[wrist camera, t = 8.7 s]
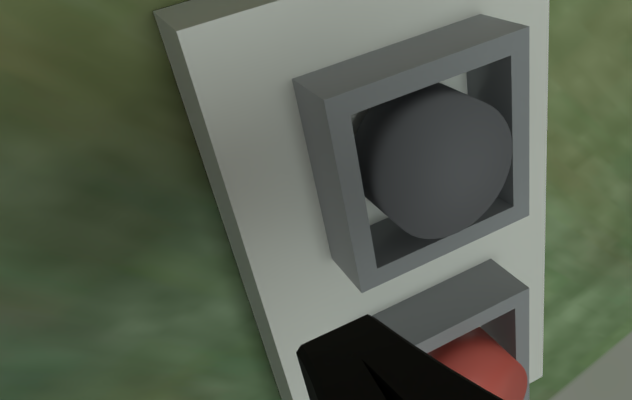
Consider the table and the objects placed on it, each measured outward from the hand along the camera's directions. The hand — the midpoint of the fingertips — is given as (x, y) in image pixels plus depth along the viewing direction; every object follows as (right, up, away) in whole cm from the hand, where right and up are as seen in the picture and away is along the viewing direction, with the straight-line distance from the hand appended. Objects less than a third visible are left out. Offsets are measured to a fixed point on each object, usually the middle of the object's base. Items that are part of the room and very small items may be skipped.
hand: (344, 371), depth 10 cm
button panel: (+2, +2, +13) cm, 13 cm away
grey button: (+2, +4, +7) cm, 9 cm away
